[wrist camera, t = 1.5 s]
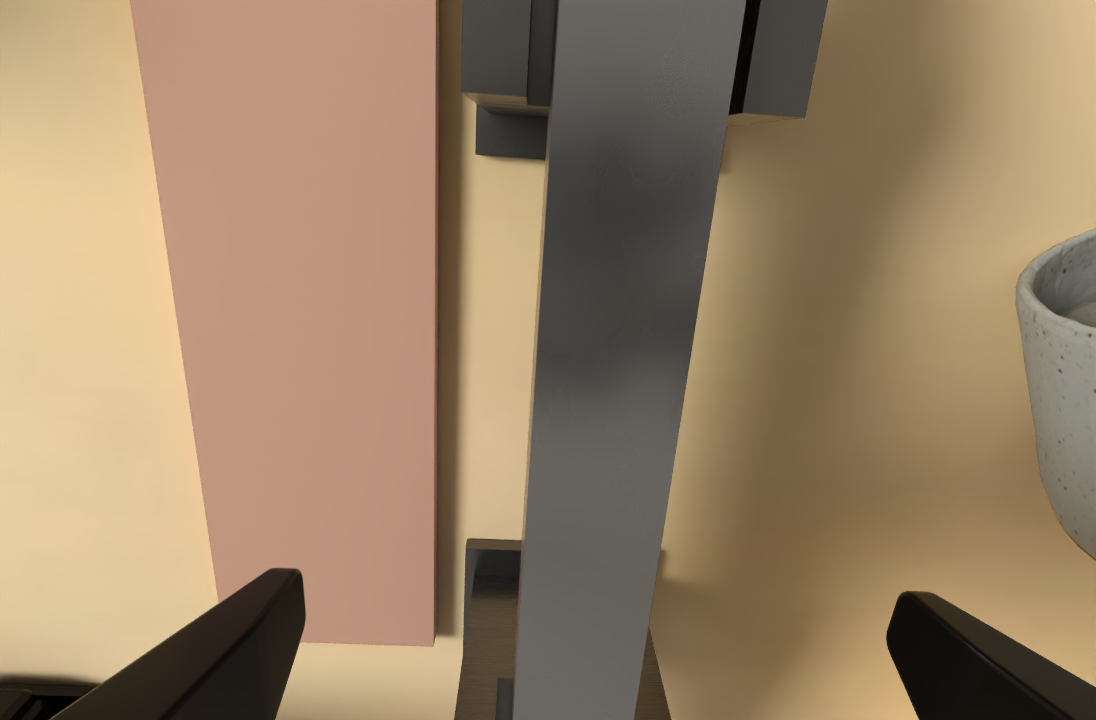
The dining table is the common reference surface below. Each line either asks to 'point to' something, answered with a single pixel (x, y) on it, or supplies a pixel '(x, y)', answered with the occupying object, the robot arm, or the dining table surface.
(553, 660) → the rail
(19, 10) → the dining table surface
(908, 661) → the robot arm
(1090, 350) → the ceramic mug
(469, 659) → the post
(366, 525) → the mat
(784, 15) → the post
